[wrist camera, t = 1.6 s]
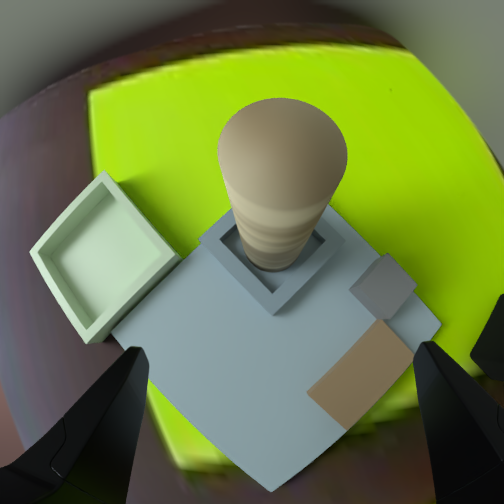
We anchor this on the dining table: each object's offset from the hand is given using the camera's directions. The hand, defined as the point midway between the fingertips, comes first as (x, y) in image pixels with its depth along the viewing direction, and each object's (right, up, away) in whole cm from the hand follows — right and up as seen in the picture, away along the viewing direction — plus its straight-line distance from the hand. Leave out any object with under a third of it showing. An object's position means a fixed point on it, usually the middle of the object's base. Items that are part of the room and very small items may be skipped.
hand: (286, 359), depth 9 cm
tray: (-13, +3, +14) cm, 19 cm away
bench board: (+1, -3, +13) cm, 13 cm away
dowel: (0, +4, +13) cm, 13 cm away
